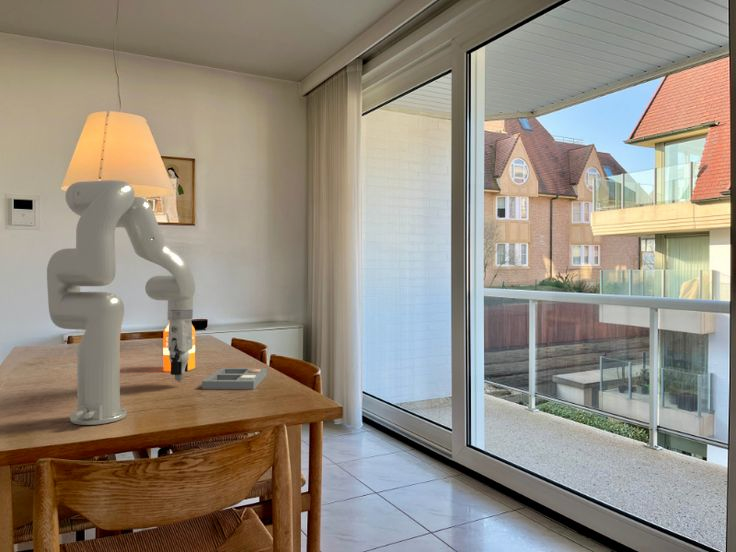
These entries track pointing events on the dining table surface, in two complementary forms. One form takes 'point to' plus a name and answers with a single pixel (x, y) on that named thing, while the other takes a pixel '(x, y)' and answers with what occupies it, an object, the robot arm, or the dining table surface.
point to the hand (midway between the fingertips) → (179, 372)
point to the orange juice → (166, 354)
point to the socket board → (235, 378)
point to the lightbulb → (184, 360)
